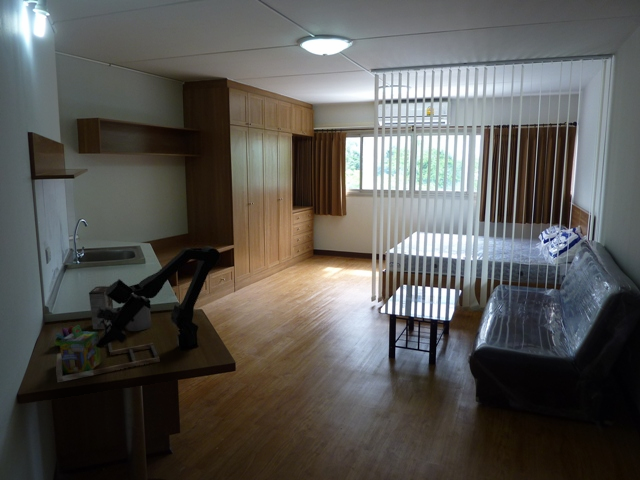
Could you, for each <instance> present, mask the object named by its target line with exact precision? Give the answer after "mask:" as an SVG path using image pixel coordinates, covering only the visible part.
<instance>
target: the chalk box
mask: <svg viewBox="0 0 640 480" xmlns="http://www.w3.org/2000/svg"><path fill="white" fill-rule="evenodd" d="M73 327H74V328H73V329H72V333H71V334H69V335H68V336H66V337H65V338H63V339H62V340H60V341H59V343H60V346H59V349H60V353H61V358H62V365H63V374H75V373H80V372H85V371H90V370H95V368H96V367H98V366H99V365H100V364H101V363H102V356H101V347H100V348H98V347H97V343H98V342H99V340H100V335H99V332H98V331H88V330H87V331H84V330H82V328H81V325H80V324H77V325H75V326H73ZM76 330H79V332H75V331H76Z"/></svg>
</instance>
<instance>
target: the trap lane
mask: <svg viewBox="0 0 640 480" xmlns="http://www.w3.org/2000/svg"><path fill="white" fill-rule="evenodd" d="M104 347H108V351H109V352H110V353H109V356H110V357H112V356H111V355H113V356H117V355H116V354H118V355H123V354H128V353H129V356H130V359H131V362H126V363H121V364H116V365H111V366H106V367H102V368H101V367H99V368H96V369H95V368H94V369H93V370H90V371H85V372H80V373H69V374H65V375H64V373H63V365H62V358H61V352H60V353H56V366H55V367H56V368H55V372H56V373H55V375H56V380H57V383H62V382H66V381H72V380H76V379H80V378H86V377H90V376H91V377H92V376H95V375H100V374H105V373H110V372H111V373H112V372H115V370H116V371H120V369H121V370H125V369H124V368H126V369H129V368H128V367H131V368H135V367H134V366H136V367H139V365H140V366H144V364H145V365H149V363H150V364H154V363H159V362H160V361H161V360H160V356H159V354H158V352H157V350H156V348H155V345H154V343H153V342H150V343H146V344H140V345H136V346H135V345H134V346H130V347H123V348H120V349H119V348H118V349H114V350H113V347H112V342H110V343H108V344H106V345H104ZM149 349H150V350H151V352H152V354H153V357H150V358H146V359H145V358H144V359H141V360H136V356H135V353H134V352H138V351H144V350H149ZM122 353H123V354H122Z"/></svg>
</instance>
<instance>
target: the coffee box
mask: <svg viewBox="0 0 640 480" xmlns="http://www.w3.org/2000/svg"><path fill="white" fill-rule="evenodd" d="M109 286H110V285H108V286H105V285H103V286H102V285H101V286H95V287H94V288H93V289H92V290H90V291H89V292H88V295H89V304H90V313H91V323H92V330H104V323H105V324H107V323H108V322H109V321H108V320H104V319H103V318H101V319H100V318H97V315H96V313H97V311H98V308H99V306H105V307H108V308H112V309H114V304H113V303H114V302H113V301H114V300H112V299H111V298H109V297H108V296H106V295H105V293H106V290H107V289H108V287H109Z"/></svg>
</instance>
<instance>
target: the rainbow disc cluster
mask: <svg viewBox="0 0 640 480" xmlns="http://www.w3.org/2000/svg"><path fill="white" fill-rule="evenodd" d="M74 327H75V326H69V328H68V329H67V328H66V327H63V328H62V330H61V333H62V334H63V335H62V334H60V333H59V332H57V333H56V334H55V335H56V337H55V338H54V339H53V340H54V345H55V346H59V347H60V343H59V341H60V340H62V339H63V338H65V337H66V336H68V335H69V334H71V333H72V329H73V328H74ZM75 332H79V330H78V329H76V331H75Z"/></svg>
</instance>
